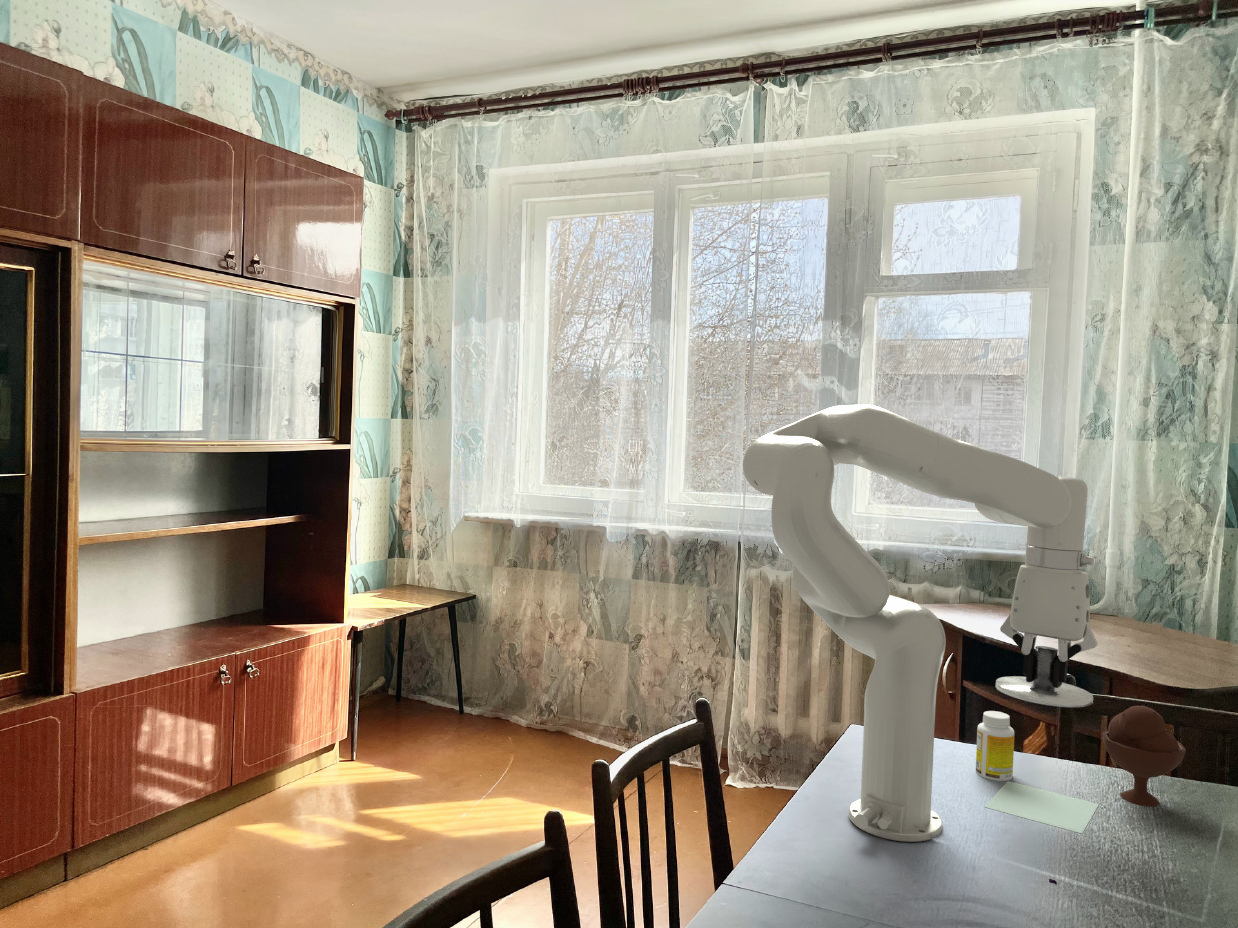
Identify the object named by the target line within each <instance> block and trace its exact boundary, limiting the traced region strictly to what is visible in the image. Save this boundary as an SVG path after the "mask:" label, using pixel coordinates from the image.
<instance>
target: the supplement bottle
mask: <svg viewBox="0 0 1238 928" xmlns="http://www.w3.org/2000/svg"><path fill="white" fill-rule="evenodd" d="M1010 717H1011V716H1010V715H1009V714H1007V713H1004V712H1002V711H995V710H987V711H984V712H983V715H982V722H980V723H979V724H978V725H977V729H976V749H975V750H976V752H975V755H976V756H975V772H976V774H977V775H978V776H979V777H982V778H984V779H986V780H990V781H996V782H1007V781H1010V780H1012V779H1013V773H1014V755H1015V753H1014V751H1015V730H1014V728H1013V727H1011V725H1010V724H1011V722H1010V720H1011V718H1010Z"/></svg>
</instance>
